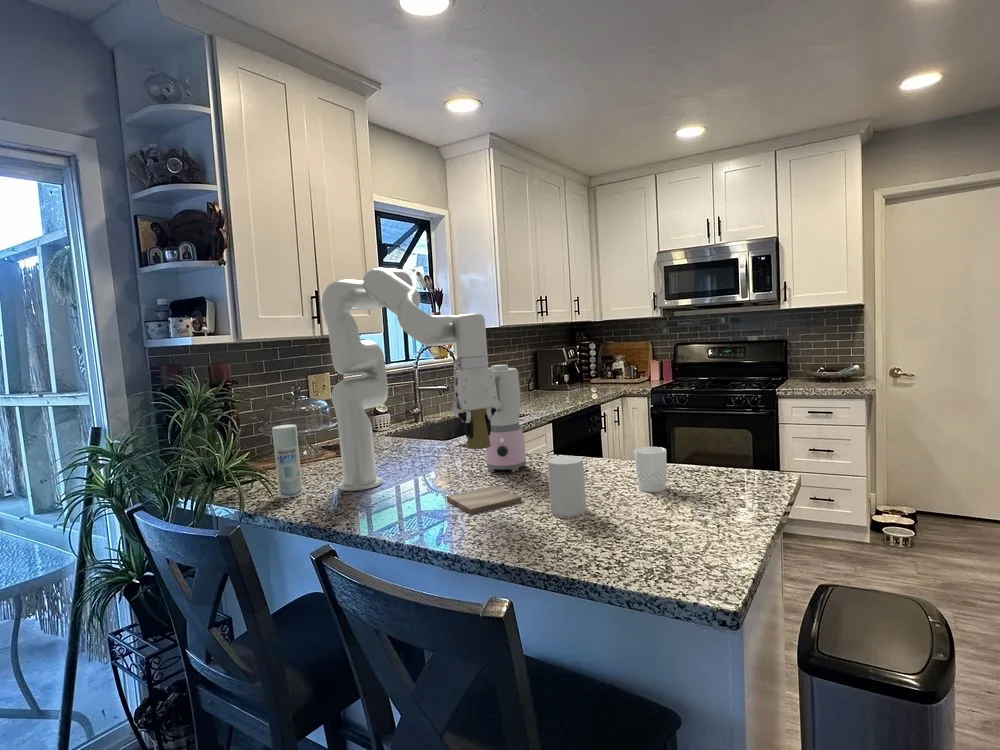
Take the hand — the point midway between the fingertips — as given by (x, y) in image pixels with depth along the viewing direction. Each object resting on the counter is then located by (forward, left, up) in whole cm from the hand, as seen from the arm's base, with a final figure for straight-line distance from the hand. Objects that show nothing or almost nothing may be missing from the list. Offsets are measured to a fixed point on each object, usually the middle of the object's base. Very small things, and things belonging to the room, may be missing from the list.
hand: (478, 435), depth 144 cm
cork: (0, 0, -3) cm, 3 cm away
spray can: (-43, -40, -17) cm, 61 cm away
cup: (+20, +12, -17) cm, 29 cm away
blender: (-24, +20, -17) cm, 36 cm away
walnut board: (0, 0, -17) cm, 17 cm away
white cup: (+20, +38, -17) cm, 46 cm away
